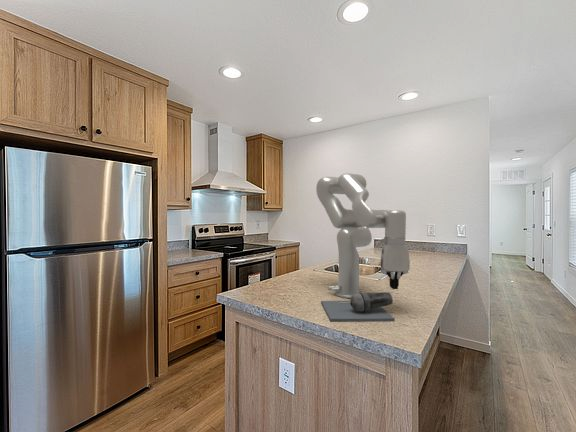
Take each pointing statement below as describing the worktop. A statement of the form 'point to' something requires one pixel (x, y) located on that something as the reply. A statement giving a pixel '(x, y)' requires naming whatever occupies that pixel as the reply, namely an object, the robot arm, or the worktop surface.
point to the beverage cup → (369, 300)
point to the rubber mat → (353, 313)
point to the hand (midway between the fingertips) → (393, 288)
